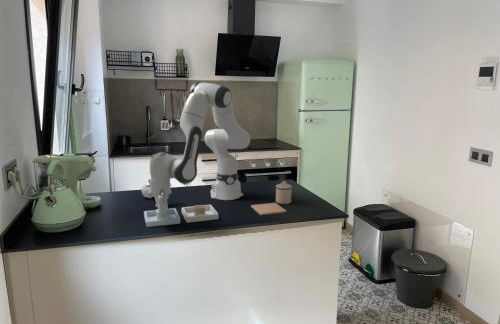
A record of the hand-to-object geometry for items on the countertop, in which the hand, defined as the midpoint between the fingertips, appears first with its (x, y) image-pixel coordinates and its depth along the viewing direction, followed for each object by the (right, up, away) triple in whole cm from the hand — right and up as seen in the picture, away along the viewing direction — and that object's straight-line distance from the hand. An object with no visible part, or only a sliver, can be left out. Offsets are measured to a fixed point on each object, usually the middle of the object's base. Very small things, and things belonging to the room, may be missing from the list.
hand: (161, 215), depth 173 cm
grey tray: (+17, -1, +6) cm, 18 cm away
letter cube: (0, -2, 0) cm, 2 cm away
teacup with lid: (+60, +3, +32) cm, 68 cm away
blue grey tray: (0, -2, +1) cm, 2 cm away
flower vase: (-10, +3, +29) cm, 31 cm away
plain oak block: (+17, -1, +6) cm, 18 cm away
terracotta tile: (+51, +1, +18) cm, 54 cm away
